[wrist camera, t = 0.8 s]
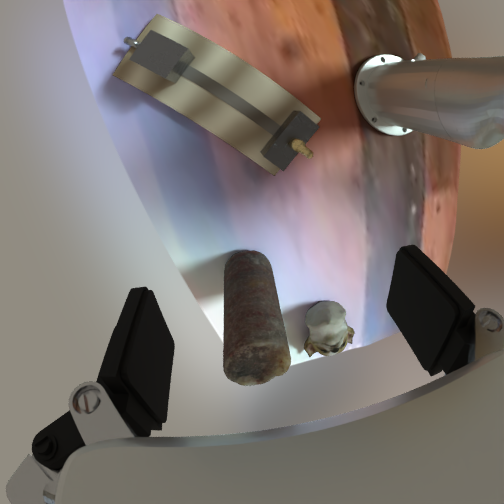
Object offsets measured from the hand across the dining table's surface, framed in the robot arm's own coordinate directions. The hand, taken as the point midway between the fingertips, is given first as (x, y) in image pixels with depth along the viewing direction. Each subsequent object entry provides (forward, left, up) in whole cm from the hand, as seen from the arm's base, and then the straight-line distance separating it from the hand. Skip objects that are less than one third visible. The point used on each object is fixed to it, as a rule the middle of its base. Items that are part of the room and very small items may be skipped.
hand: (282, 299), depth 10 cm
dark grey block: (-5, -18, -27) cm, 33 cm away
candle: (+14, +11, -29) cm, 34 cm away
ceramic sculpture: (+16, +31, -30) cm, 46 cm away
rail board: (-5, -8, -29) cm, 31 cm away
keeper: (-5, +3, -28) cm, 28 cm away
